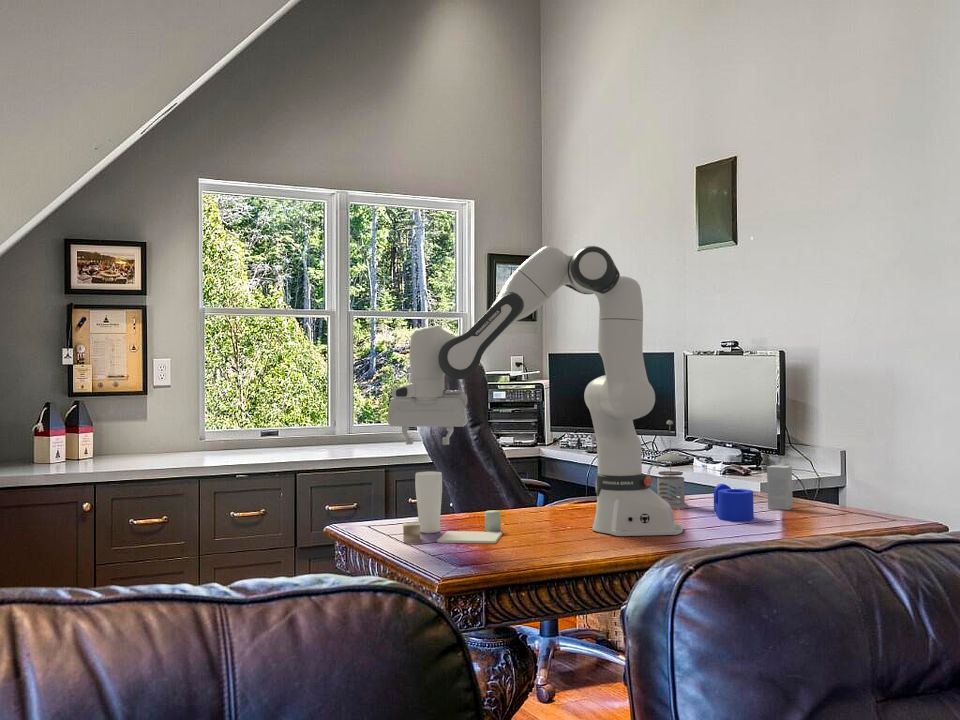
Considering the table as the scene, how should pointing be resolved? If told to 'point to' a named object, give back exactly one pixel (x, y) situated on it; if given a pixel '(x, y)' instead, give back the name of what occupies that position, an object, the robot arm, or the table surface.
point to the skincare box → (779, 487)
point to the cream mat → (469, 537)
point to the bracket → (733, 504)
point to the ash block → (411, 532)
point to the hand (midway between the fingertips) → (427, 444)
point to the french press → (670, 481)
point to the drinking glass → (429, 500)
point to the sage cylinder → (493, 521)
